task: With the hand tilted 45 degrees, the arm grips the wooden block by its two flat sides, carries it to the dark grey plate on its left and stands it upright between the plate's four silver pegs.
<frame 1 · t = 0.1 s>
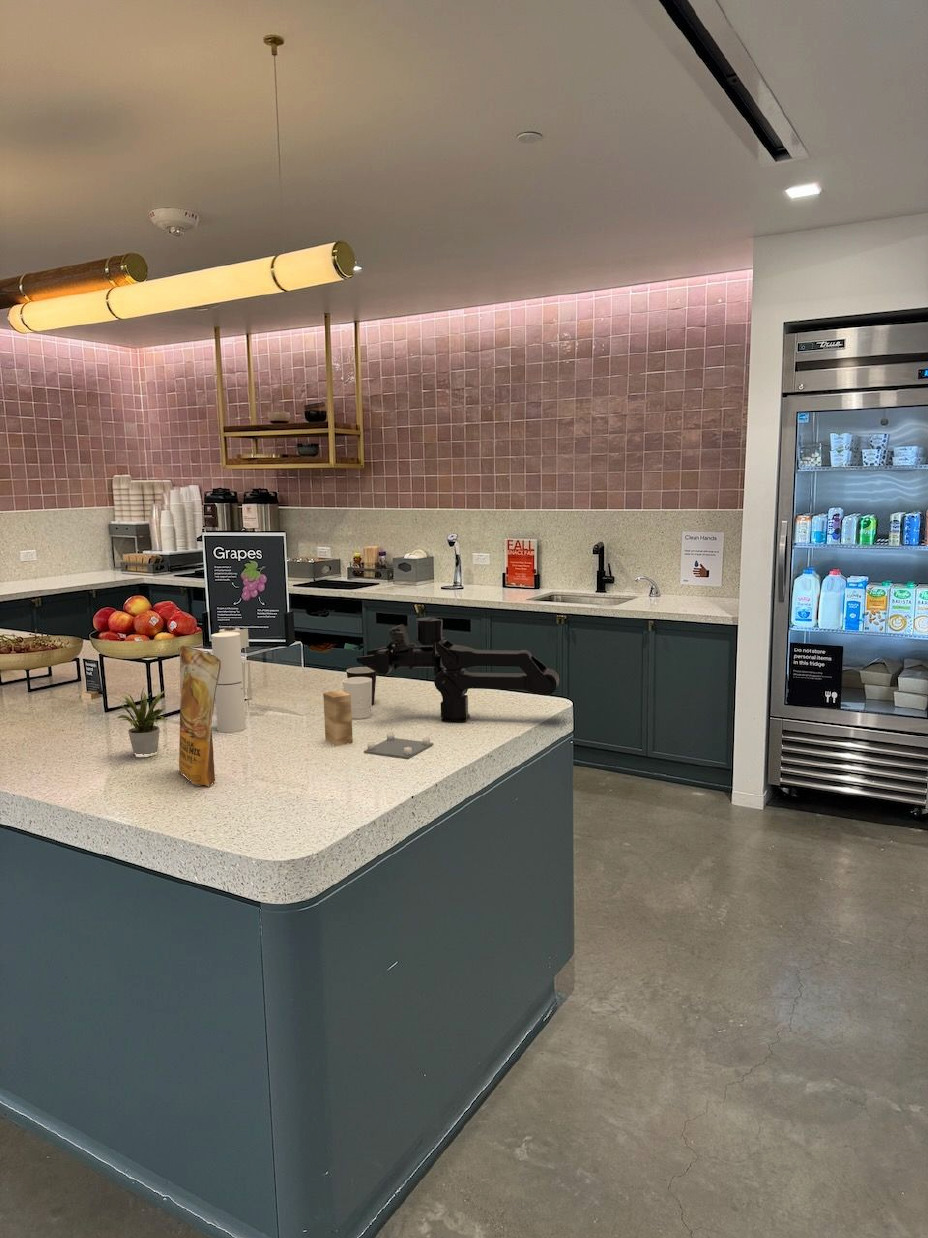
hand: (361, 656, 242), 17 cm above the table, tool horizontal, fingers open, 9 cm apart
white cup: (358, 716, 246), on the table
cylindrical container: (231, 729, 235), on the table
wooden block: (339, 741, 222), on the table
house plant: (140, 756, 213), on the table
coffee mug: (364, 703, 260), on the table
peg plate: (399, 748, 214), on the table
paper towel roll: (236, 701, 266), on the table
pancake mix bag: (200, 777, 197), on the table
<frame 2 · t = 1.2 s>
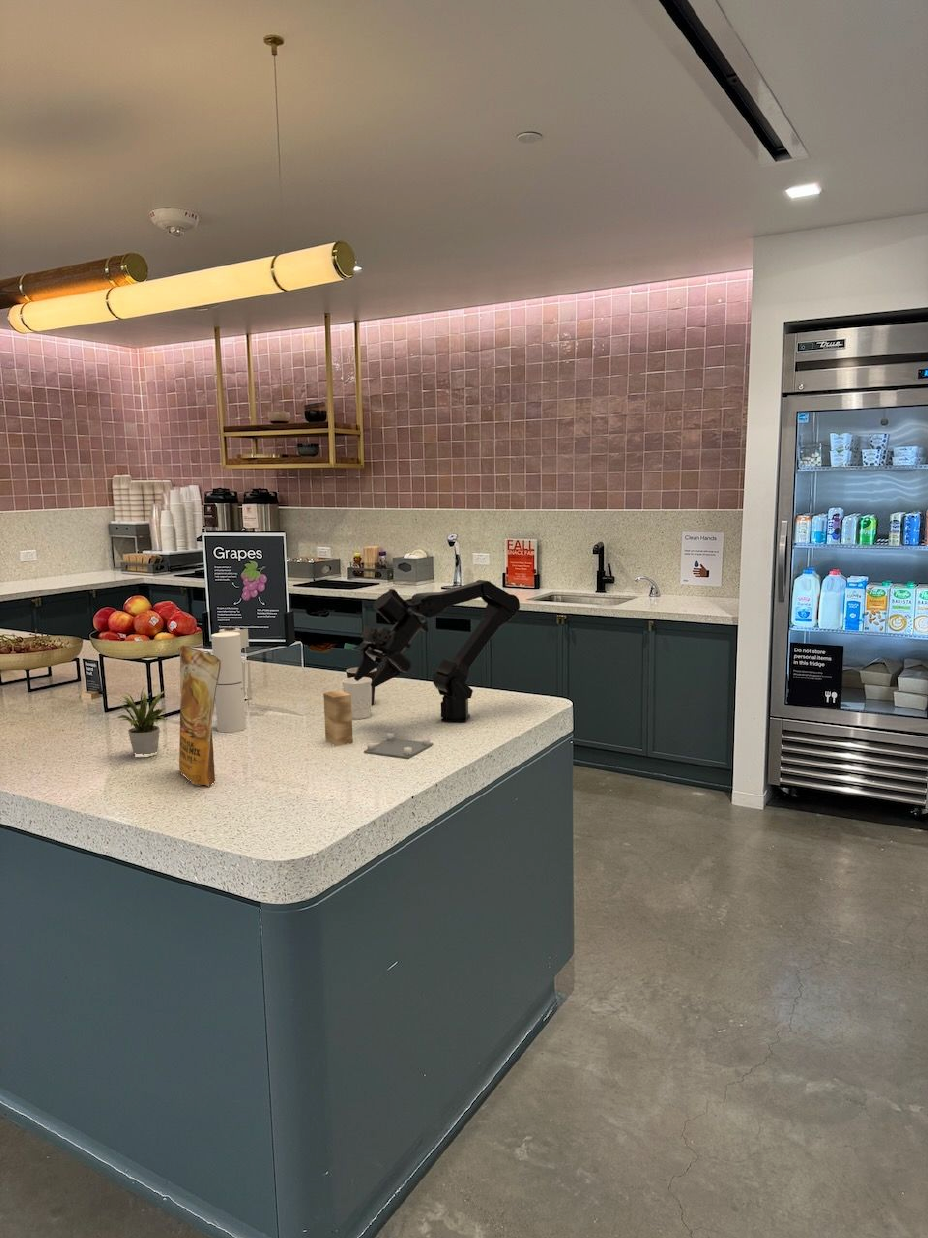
hand: (363, 683, 224), 14 cm above the table, tool tilted 45°, fingers open, 9 cm apart
nothing on the table moved.
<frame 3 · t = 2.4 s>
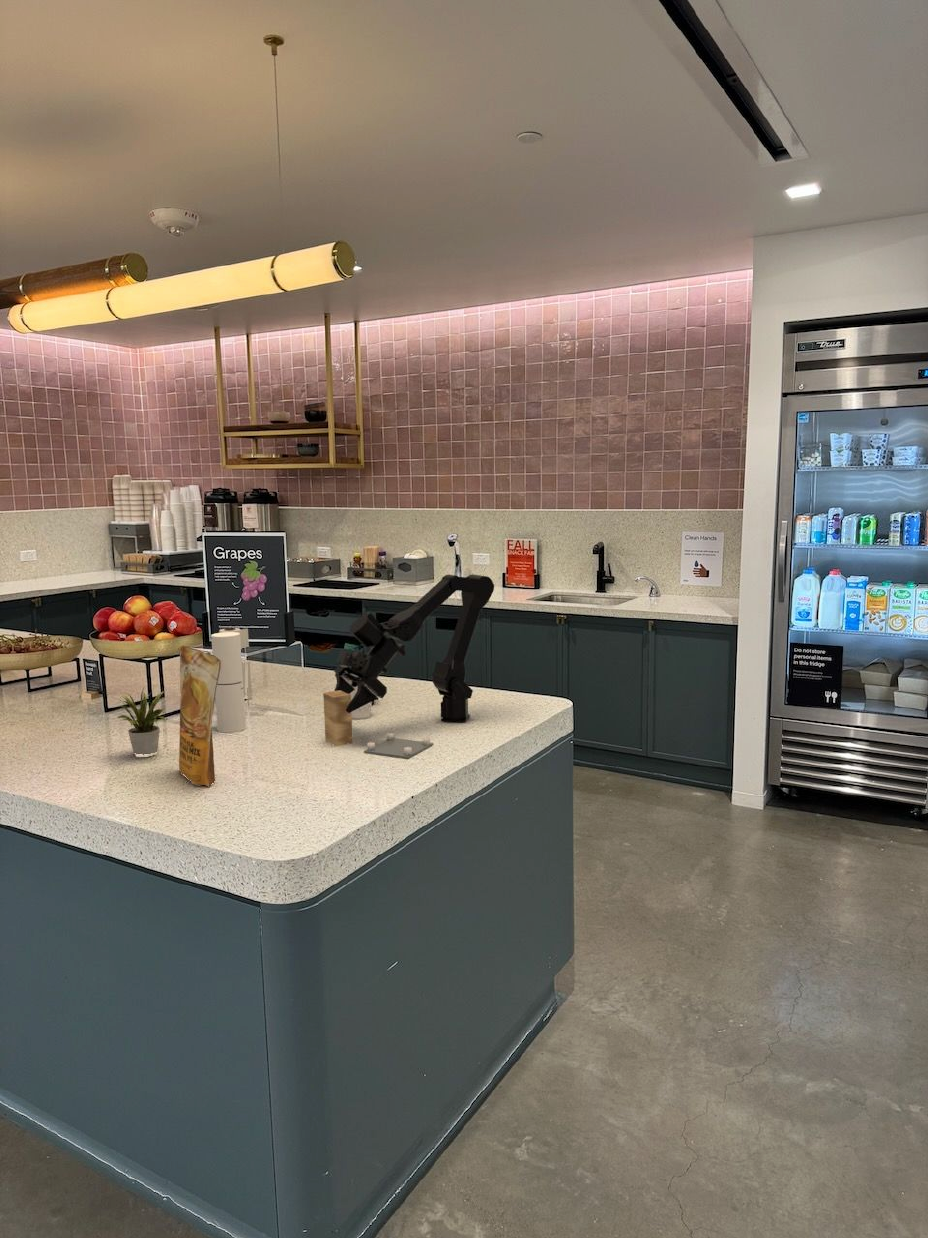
hand: (339, 708, 221), 8 cm above the table, tool tilted 45°, fingers open, 9 cm apart
nothing on the table moved.
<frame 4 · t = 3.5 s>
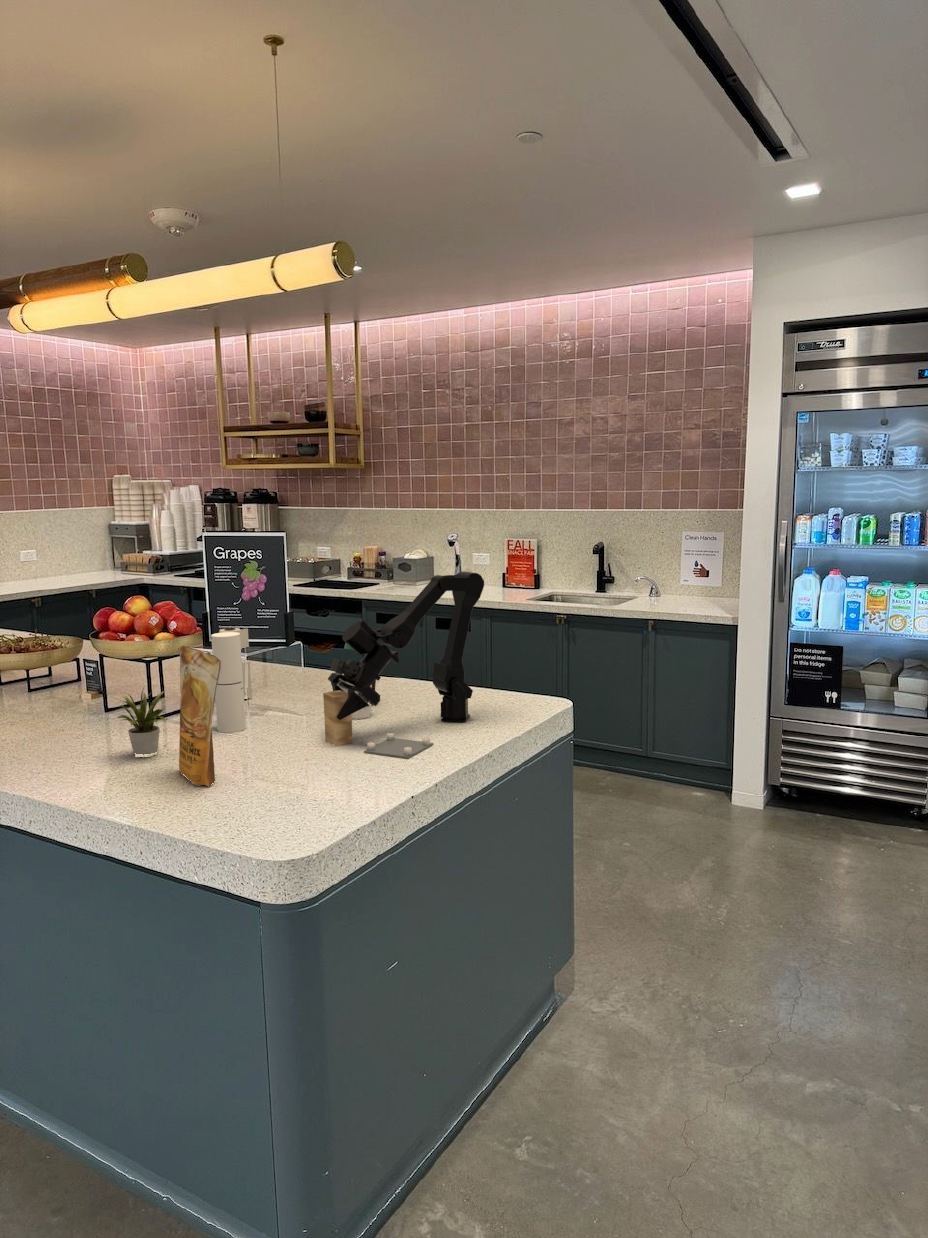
hand: (332, 716, 220), 7 cm above the table, tool tilted 45°, fingers closed on wooden block, 6 cm apart
wooden block: (339, 741, 222), on the table, touching gripper
everything else where it was.
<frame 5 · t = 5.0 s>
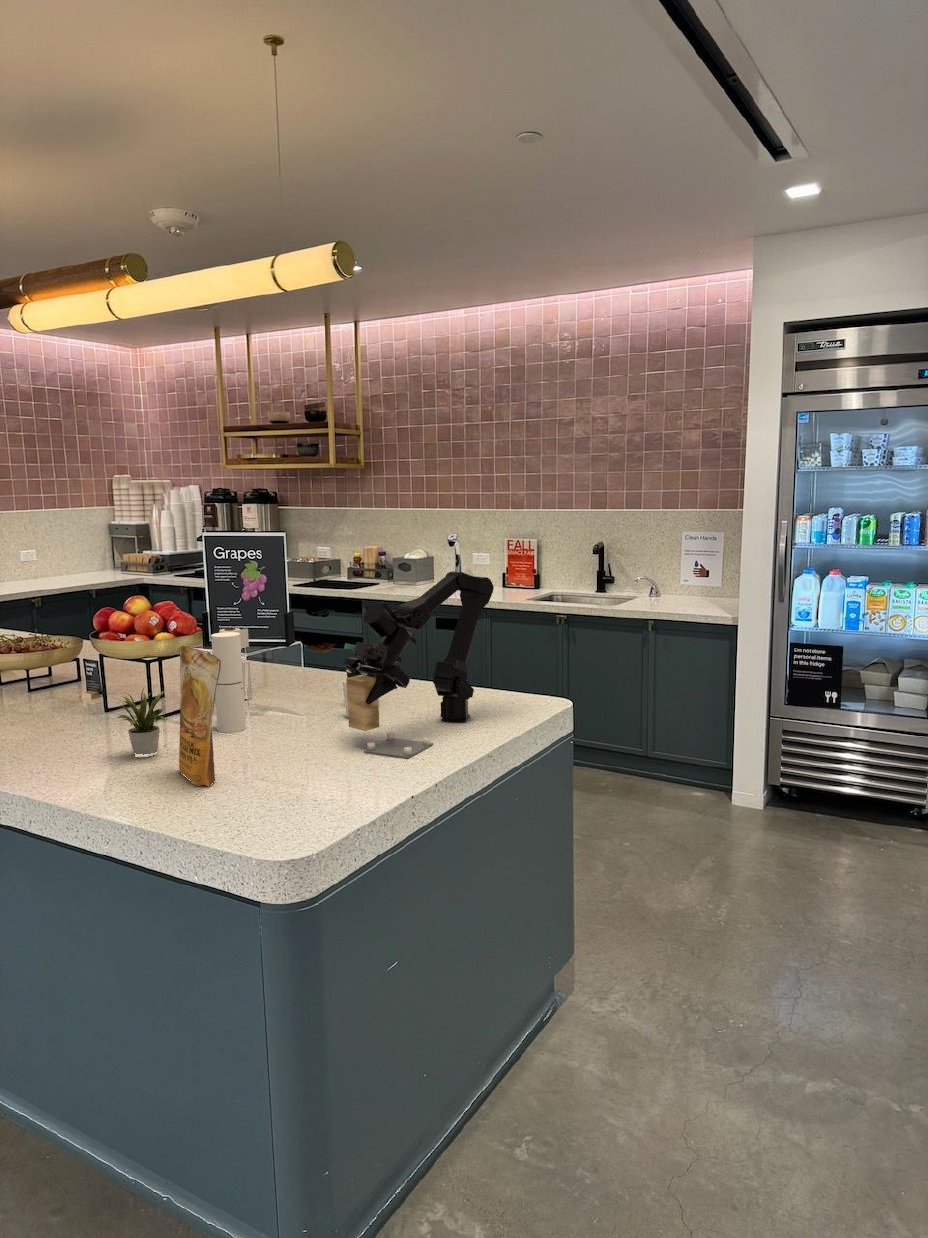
hand: (358, 701, 215), 11 cm above the table, tool tilted 45°, fingers closed on wooden block, 6 cm apart
wooden block: (364, 727, 217), point 5 cm above the table, touching gripper
everything else where it was.
when the fingers open (8 cm above the table, at t = 6.6 s): wooden block stays where it is, resting on peg plate.
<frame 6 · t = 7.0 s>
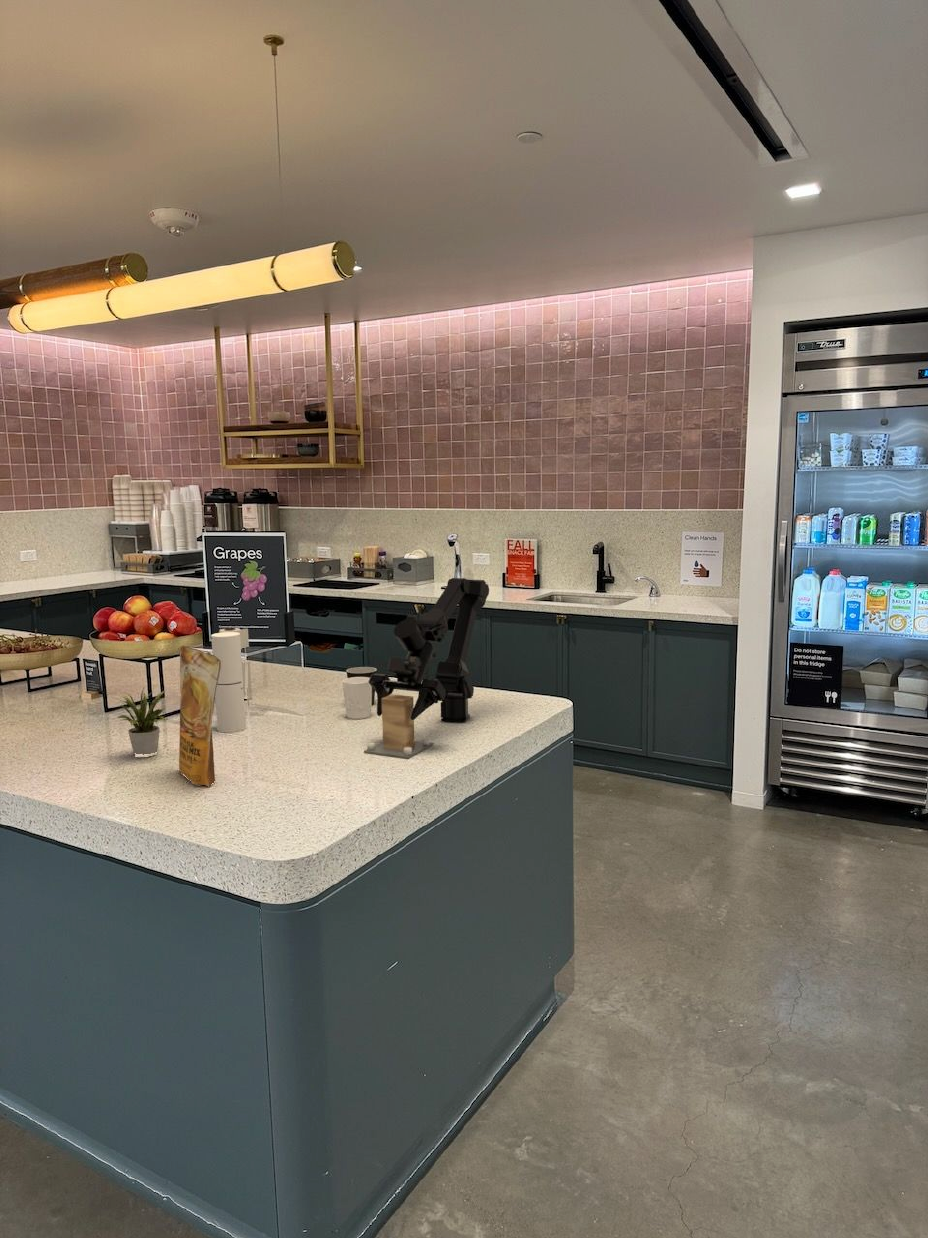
hand: (394, 717, 212), 8 cm above the table, tool tilted 45°, fingers open, 9 cm apart
wooden block: (399, 746, 214), resting on peg plate
everything else where it was.
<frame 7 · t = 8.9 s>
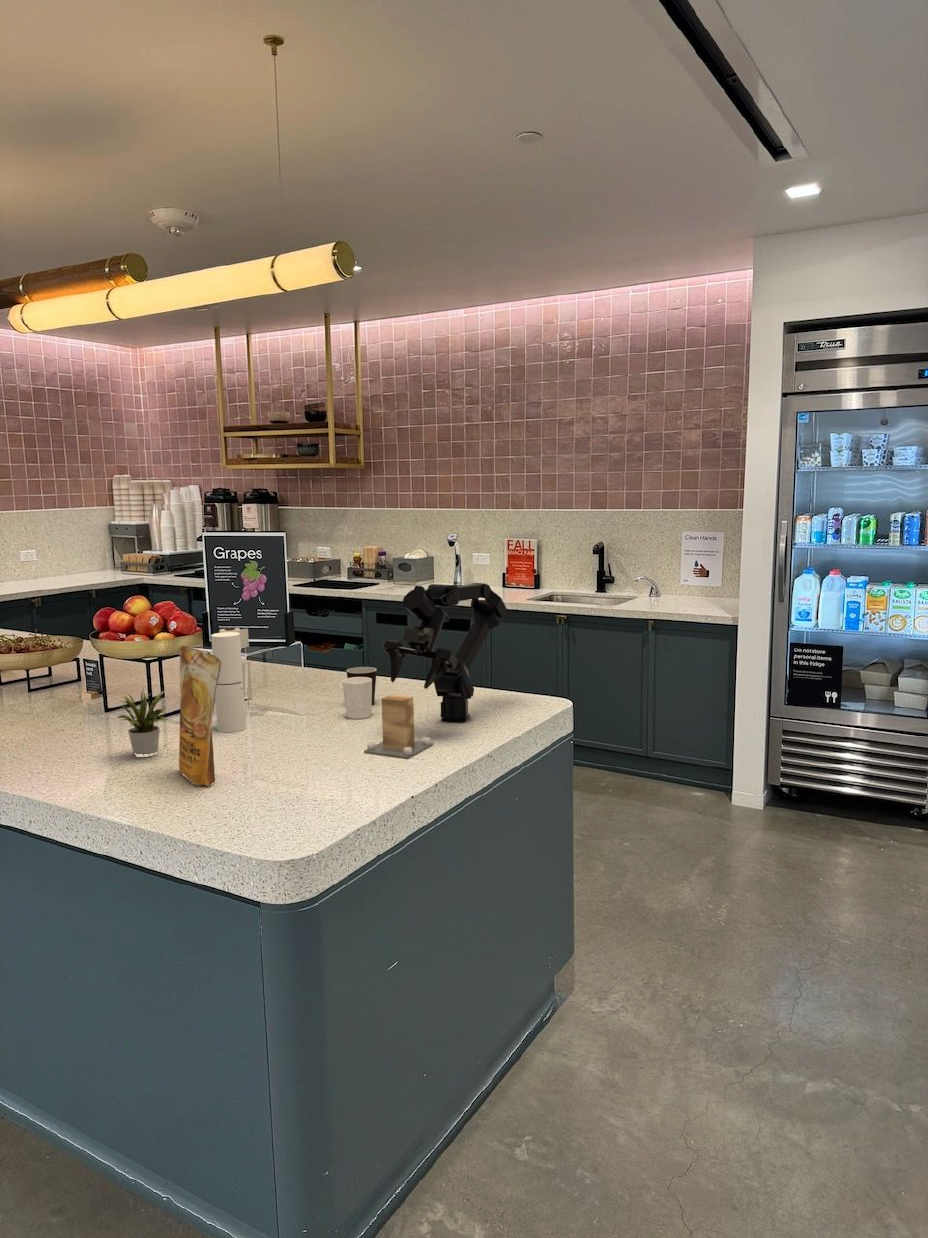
hand: (408, 684, 221), 14 cm above the table, tool tilted 35°, fingers open, 9 cm apart
nothing on the table moved.
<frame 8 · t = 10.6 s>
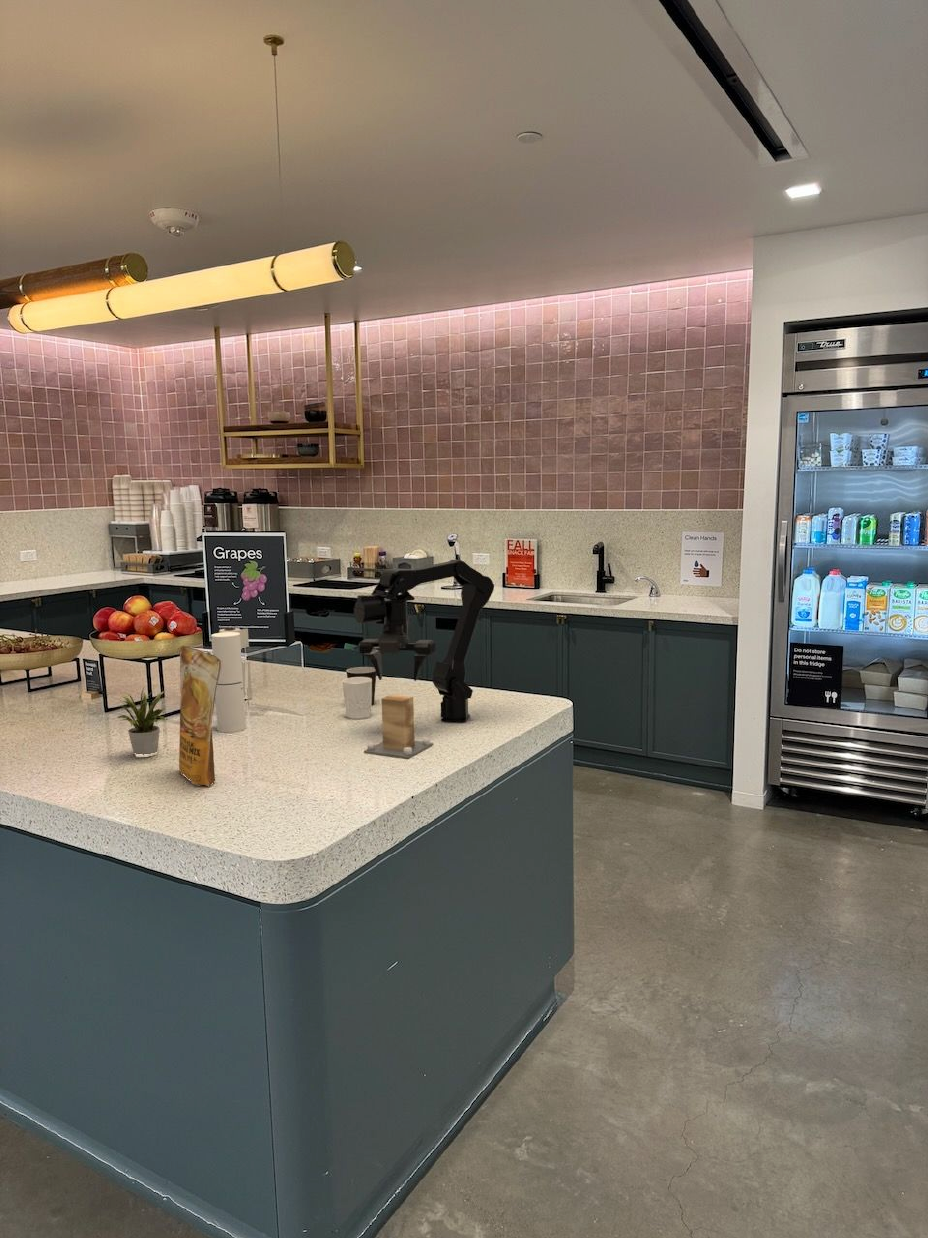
hand: (397, 680, 229), 13 cm above the table, tool pointing down, fingers open, 9 cm apart
nothing on the table moved.
at the end: wooden block 0.0 cm off-centre on the peg plate, point 0.5 cm above the peg plate's base; wooden block tilted 0°; the gripper is holding nothing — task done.
